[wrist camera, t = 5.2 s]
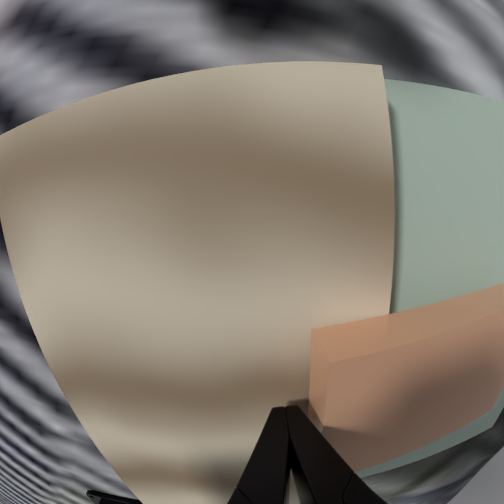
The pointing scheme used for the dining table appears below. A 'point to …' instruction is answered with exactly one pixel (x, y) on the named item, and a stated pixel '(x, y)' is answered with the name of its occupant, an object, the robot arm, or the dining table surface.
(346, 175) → the board
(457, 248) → the sage mat
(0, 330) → the dining table surface
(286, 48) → the dining table surface
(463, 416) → the terracotta tile
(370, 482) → the dining table surface
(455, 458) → the dining table surface
